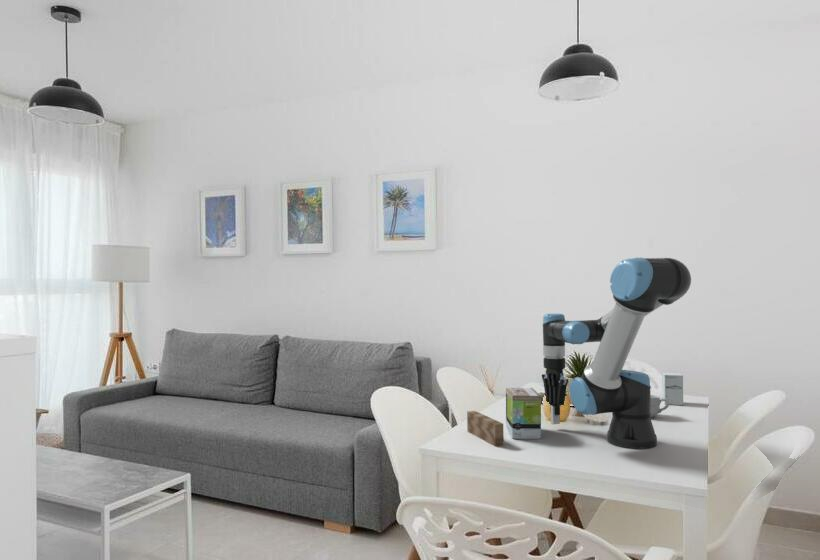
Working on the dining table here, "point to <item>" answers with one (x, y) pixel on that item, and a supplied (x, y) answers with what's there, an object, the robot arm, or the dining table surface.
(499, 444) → the walnut board
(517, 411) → the tea box
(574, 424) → the dining table surface
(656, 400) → the teacup
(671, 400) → the supplement box
